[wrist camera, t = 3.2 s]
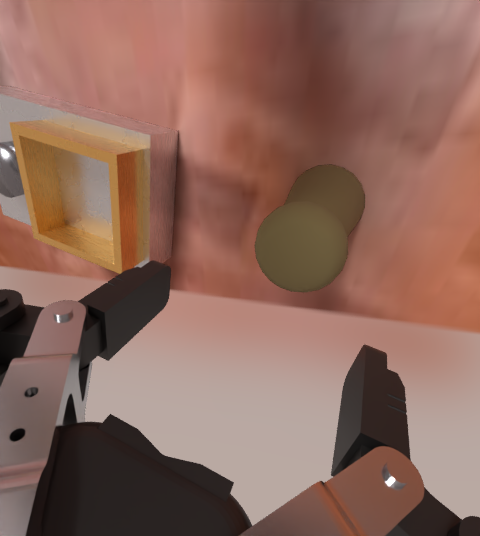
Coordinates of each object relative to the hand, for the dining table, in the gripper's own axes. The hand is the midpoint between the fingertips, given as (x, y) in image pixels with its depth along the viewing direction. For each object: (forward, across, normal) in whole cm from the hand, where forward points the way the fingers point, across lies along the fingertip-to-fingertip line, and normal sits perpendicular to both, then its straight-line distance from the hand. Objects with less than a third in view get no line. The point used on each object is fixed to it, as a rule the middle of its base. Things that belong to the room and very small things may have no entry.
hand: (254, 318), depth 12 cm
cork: (+16, 0, 0) cm, 16 cm away
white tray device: (+16, +26, +4) cm, 31 cm away
